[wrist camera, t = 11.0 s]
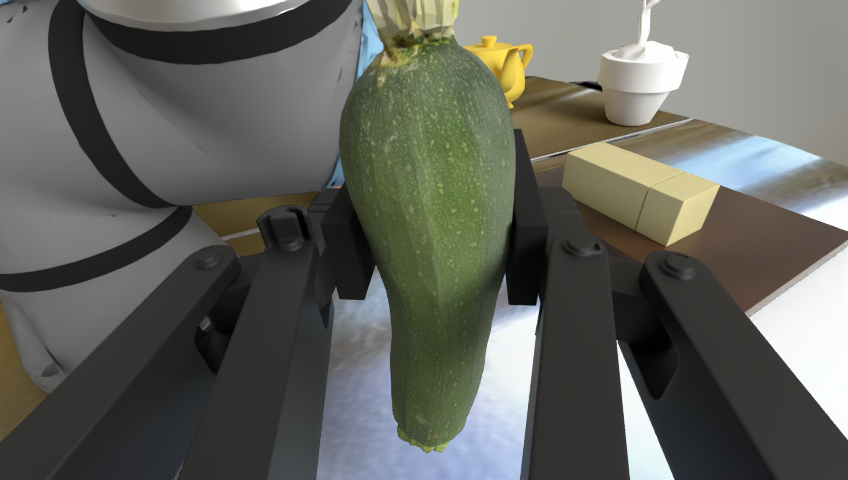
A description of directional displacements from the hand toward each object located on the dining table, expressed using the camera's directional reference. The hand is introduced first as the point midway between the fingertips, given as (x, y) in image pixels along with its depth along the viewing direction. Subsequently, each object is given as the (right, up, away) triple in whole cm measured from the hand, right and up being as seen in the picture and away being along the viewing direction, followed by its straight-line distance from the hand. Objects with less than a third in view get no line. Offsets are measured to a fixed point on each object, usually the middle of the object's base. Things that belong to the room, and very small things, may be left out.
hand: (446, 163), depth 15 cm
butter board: (+23, -1, +23) cm, 33 cm away
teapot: (+12, +22, +56) cm, 61 cm away
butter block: (+18, +1, +24) cm, 30 cm away
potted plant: (+33, +16, +47) cm, 59 cm away
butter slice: (+21, -2, +19) cm, 29 cm away
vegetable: (0, -12, +2) cm, 12 cm away
